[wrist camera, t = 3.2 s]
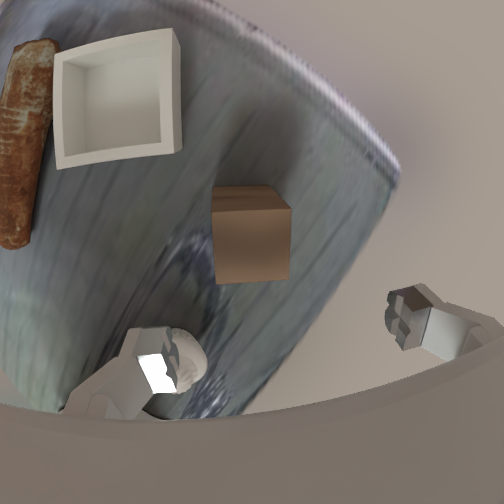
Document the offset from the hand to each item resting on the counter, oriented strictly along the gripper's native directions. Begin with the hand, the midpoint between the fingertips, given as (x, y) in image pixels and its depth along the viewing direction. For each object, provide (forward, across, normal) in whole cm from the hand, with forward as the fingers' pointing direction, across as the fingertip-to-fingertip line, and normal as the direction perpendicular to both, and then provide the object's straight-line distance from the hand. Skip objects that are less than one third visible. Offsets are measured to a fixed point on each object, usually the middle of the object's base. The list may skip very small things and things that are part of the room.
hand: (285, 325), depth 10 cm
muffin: (+16, +9, +13) cm, 22 cm away
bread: (+16, +18, -9) cm, 26 cm away
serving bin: (+16, +9, -10) cm, 21 cm away
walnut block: (+16, +1, 0) cm, 16 cm away
